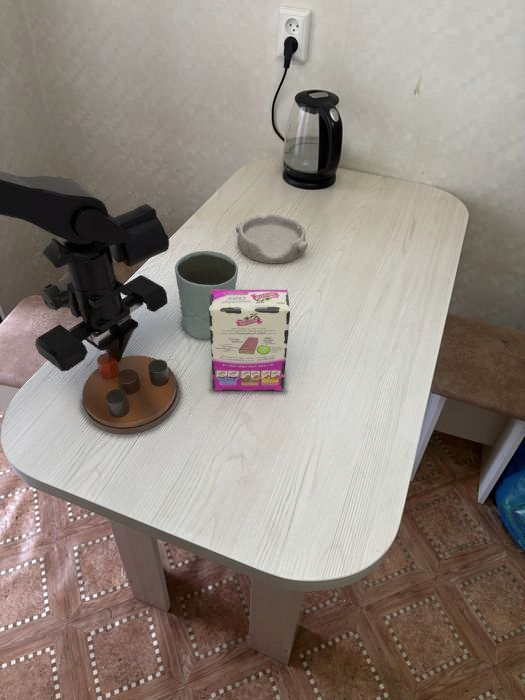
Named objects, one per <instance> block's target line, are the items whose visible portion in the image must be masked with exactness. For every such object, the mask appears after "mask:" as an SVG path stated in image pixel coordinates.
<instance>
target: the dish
mask: <svg viewBox="0 0 525 700" xmlns="http://www.w3.org/2000/svg"><path fill="white" fill-rule="evenodd" d="M235 232H236V233H237V242H238V247H239V250H240V251H241V253H242V254H243V255H244V256H245V257H247V258H249V259H251V260H253V261H255V262H260V263H264V264H284V263H290V262H293V261H294V260H297V258H299V257H300V256H301V255H302V254H304V253H305V251H306V250H307V248H308V244H309V242H308V241H306V230H305V227H304V226H303V225H302V224H301V223H300V222H299V221H297V220H296V219H293V218H290V217H287V216H283V215H281V214H280V215H279V214H274V213H269V214H267V215H263V216H261V215H255V216H252V217H249V218H248V219H245V220H244V221H243V222H238V224H237V225H236V227H235Z"/></svg>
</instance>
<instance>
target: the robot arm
mask: <svg viewBox="0 0 525 700" xmlns="http://www.w3.org/2000/svg"><path fill="white" fill-rule="evenodd" d="M106 206H107V205H106V204H105V203H104V201H102V200H101V199H99V198H98V197H97V196H96V195H95V194H93V193H92V192H91V191H89V190H88V189H87V188H86V187H84V186H83V185H81V183H79V182H78V181H76V180H74V179H72V178H67V177H60V176H59V177H58V176H51V175H50V176H49V175H36V176H21V175H15V174H12V173H9V172H6V171H1V170H0V216H4V217H8V218H9V217H10V218H13V219H18V220H22V221H25V222H28V223H30V224H32V225H33V226H36V227H38V228H40V229H42V230H44V231H46V232H48V233H49V234H51V235H53V236H56V237H52V238H51V240H50V242H49V244H48V245H46V247H44V249H43V250H42V255H43V257H44V258H45V259H46V260H47V261H48V262H49V263H50V264H51V265H52V266H53V267H54V268H56V269H58V268H62V267H64V266H65V268H66V271H67V275H68V276H67V277H66V278H63V279H62V280H60V281H58V282H57V283H55V284H52V283H49V284H47V285H45V286H43V287H42V288H40V289H39V291H40V295H41V298H42V301H43V302H44V304H45V306H46V307H47V308H48V309H50V310H54V311H58V310H60V309H61V308H67V309H70V312H71V315H72V316H73V317H75V318H77V319H78V318H82V321H80V322H79V323H77V324H75V325H74V326H72V327H70V328H69V329H67V328H66V327H64V326H63V325H61V324H57V325H56V326H54V327H52V328H51V329H49V330H48V331H46V332H45V333H43V334H41V335H39V336H38V337H37V338H35V342H34V346H35V348H36V351H37V353H38V354H40V356H42V357H43V358H44V359H45V360H47V361H48V362H49V363H50V364H52V365H53V366H55V367H56V368H57V369H58V370H59V371H61V372H68V371H70V370H72V369H73V368H74V367H76V366H77V365H78V364H80V363H82V362H83V361H85V359H86V357H87V355H88V350H87V347H86V345H85V343H84V342H83V341H86V342H87V343H88V344H90V346H93V347H94V348H95V349H96V350H98V351H101V352H102V351H105V353H108V354H109V355H110V356H112V357H113V358H115V359H116V360H117V362H120V360H121V358H122V357H124V356H123V355H124V353H125V351H126V348H127V346H128V344H129V342H130V340H131V338H132V336H133V334H134V332H135V330H137V329H138V327H139V322H138V321H137V320H135V319H133V318H132V315H131V314H132V313H133V312H135V311H136V310H138V309H139V308H141V307H142V306H143V305H145V306H146V309H147V310H148V311H150V312H152V313H156V312H157V311H159V310H160V309H161V308H163V307H165V306H166V305H167V304H168V295H167V294H168V293H167V291H166V289H165V288H164V286H162V285H160V284H159V283H157V282H156V281H153V280H152V279H150V278H148V277H147V276H145V275H142V274H139V275H138V276H137V277H135V278H133V279H131V280H130V281H128V282H126V283H125V284H124V283H122V282H121V281H119V280H118V277H117V272H116V269H115V268H116V267H115V265H114V261H116V262H117V263H118V264H120V263H123V264H124V265H125V266H126V267H128V268H129V267H130V268H131V267H133V266H136V265H138V264H140V263H143V262H145V261H147V260H149V259H151V258H154V257H157V256H159V255H160V254H163V253H165V252H167V251H168V250H169V248H170V239H169V235H168V234H167V232H166V230H165V229H164V226H163V224H162V222H161V220H160V219H159V217H158V216H157V210H156V209H155V208H154V207H152V206H151V205H150V204H148V203H144V204H141V205H139V206H138V207H136V208H135V209H132V210H130V211H127V212H124V213H122V214H120V215H117V216H114V217H113V216H112V215H111V214H110V213H109V211H108V209H107V207H106ZM57 237H59V238H61V239H58V238H57ZM113 260H114V261H113ZM122 295H123V296H125V297H123V296H122ZM122 297H123V298H122Z"/></svg>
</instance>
